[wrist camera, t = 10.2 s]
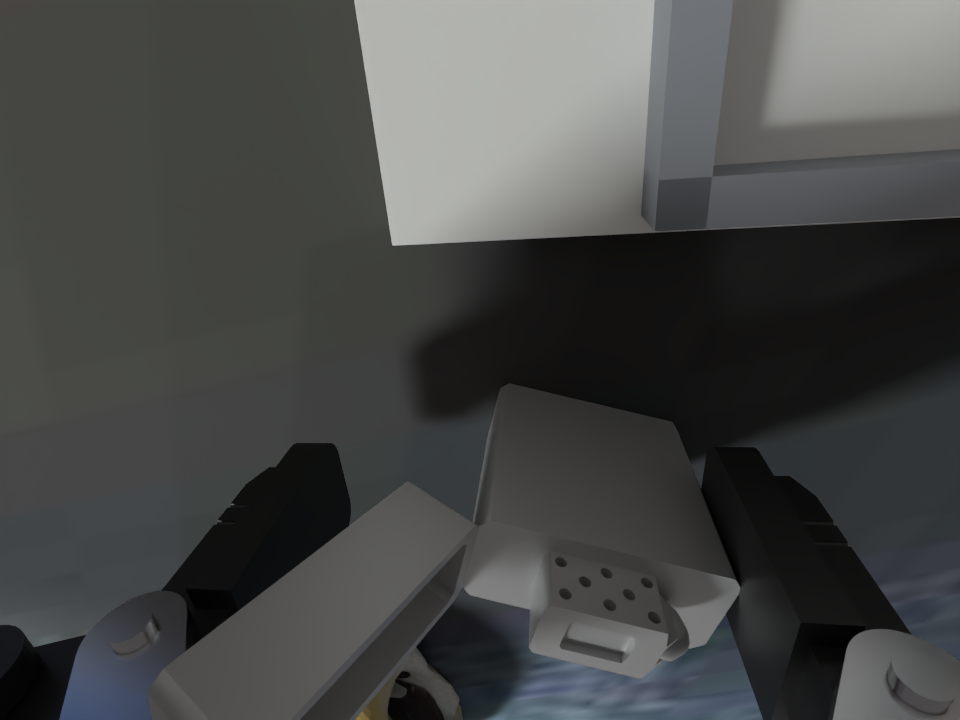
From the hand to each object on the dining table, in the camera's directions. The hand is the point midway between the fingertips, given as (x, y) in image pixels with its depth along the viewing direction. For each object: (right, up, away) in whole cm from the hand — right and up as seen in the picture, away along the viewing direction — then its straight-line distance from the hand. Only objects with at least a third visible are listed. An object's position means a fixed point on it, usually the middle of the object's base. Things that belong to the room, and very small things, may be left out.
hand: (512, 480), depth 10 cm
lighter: (0, +1, +2) cm, 2 cm away
